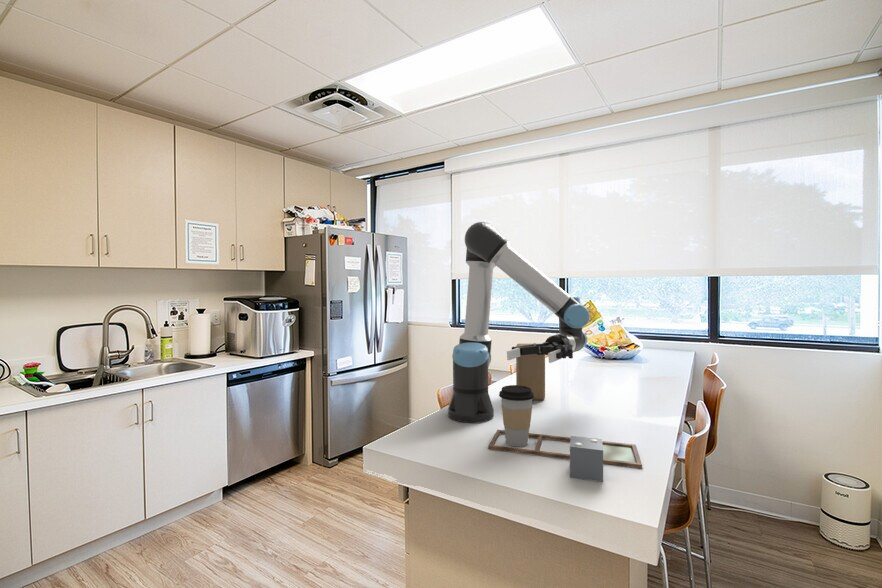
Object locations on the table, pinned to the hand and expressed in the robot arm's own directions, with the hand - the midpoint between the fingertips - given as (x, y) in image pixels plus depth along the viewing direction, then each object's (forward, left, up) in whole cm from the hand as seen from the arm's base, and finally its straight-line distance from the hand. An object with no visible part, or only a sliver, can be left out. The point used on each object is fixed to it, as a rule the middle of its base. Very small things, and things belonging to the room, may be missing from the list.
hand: (528, 356), depth 121 cm
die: (+16, -22, -22) cm, 35 cm away
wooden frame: (+10, -9, -22) cm, 26 cm away
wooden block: (-4, +39, -22) cm, 45 cm away
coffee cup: (-2, -9, -22) cm, 24 cm away
